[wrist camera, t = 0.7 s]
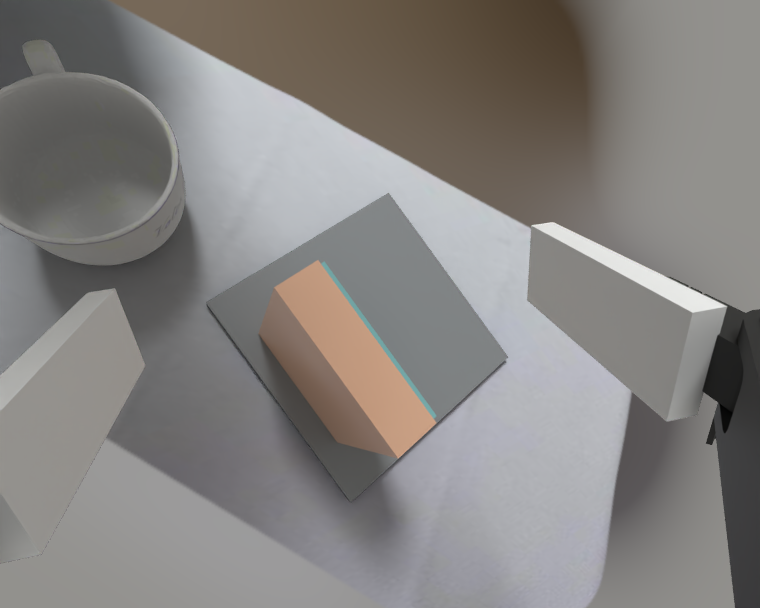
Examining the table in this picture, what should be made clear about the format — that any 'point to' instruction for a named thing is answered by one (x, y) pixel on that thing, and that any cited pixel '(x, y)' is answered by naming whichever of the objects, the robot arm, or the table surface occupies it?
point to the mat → (386, 316)
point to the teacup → (86, 164)
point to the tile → (343, 365)
